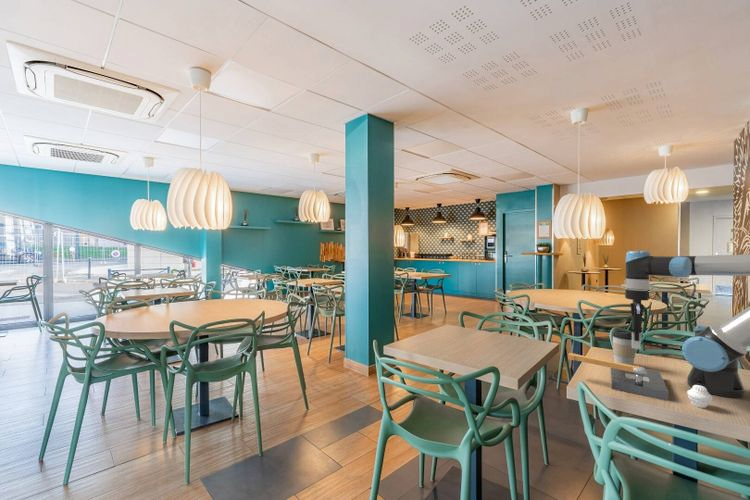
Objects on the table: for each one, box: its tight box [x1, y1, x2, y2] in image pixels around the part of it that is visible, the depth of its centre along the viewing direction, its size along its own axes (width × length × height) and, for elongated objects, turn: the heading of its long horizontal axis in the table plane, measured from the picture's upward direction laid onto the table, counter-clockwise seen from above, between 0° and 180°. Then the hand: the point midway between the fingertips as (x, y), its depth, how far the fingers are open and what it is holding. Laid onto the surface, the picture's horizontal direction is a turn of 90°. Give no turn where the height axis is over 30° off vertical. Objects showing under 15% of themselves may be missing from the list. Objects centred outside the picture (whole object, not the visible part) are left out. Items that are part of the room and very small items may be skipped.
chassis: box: [610, 368, 670, 401], centre depth 131 cm, size 16×24×7 cm, turn 146°
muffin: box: [686, 385, 713, 409], centre depth 113 cm, size 6×6×7 cm
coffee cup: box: [611, 330, 637, 366], centre depth 152 cm, size 9×9×15 cm
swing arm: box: [567, 352, 647, 374], centre depth 130 cm, size 4×24×2 cm, turn 49°
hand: (636, 348), depth 136 cm, fingers closed
